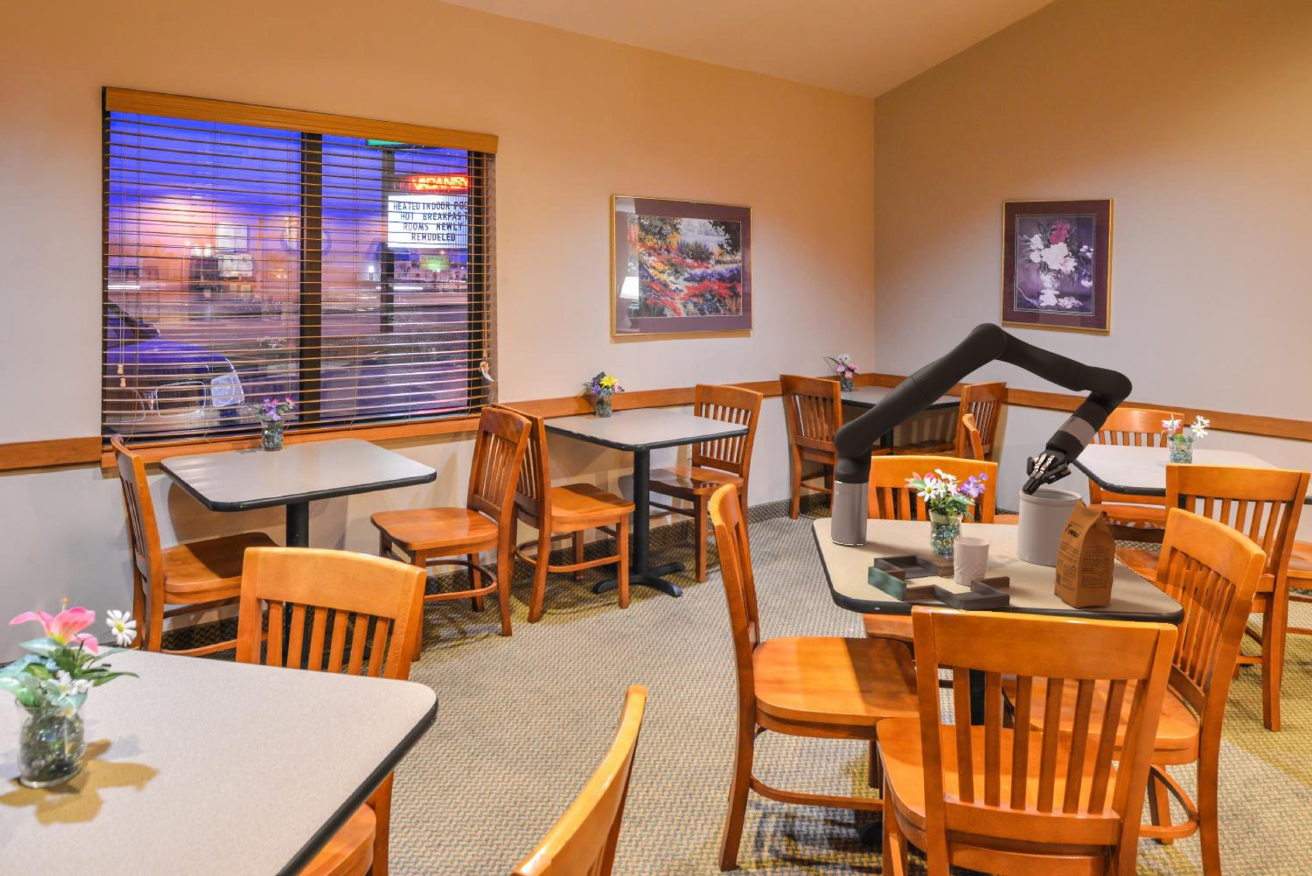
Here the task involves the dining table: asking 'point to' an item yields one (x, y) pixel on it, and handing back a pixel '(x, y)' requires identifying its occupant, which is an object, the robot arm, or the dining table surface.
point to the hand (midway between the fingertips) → (1026, 492)
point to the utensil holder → (1043, 523)
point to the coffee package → (1085, 559)
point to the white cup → (970, 559)
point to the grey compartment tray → (898, 568)
